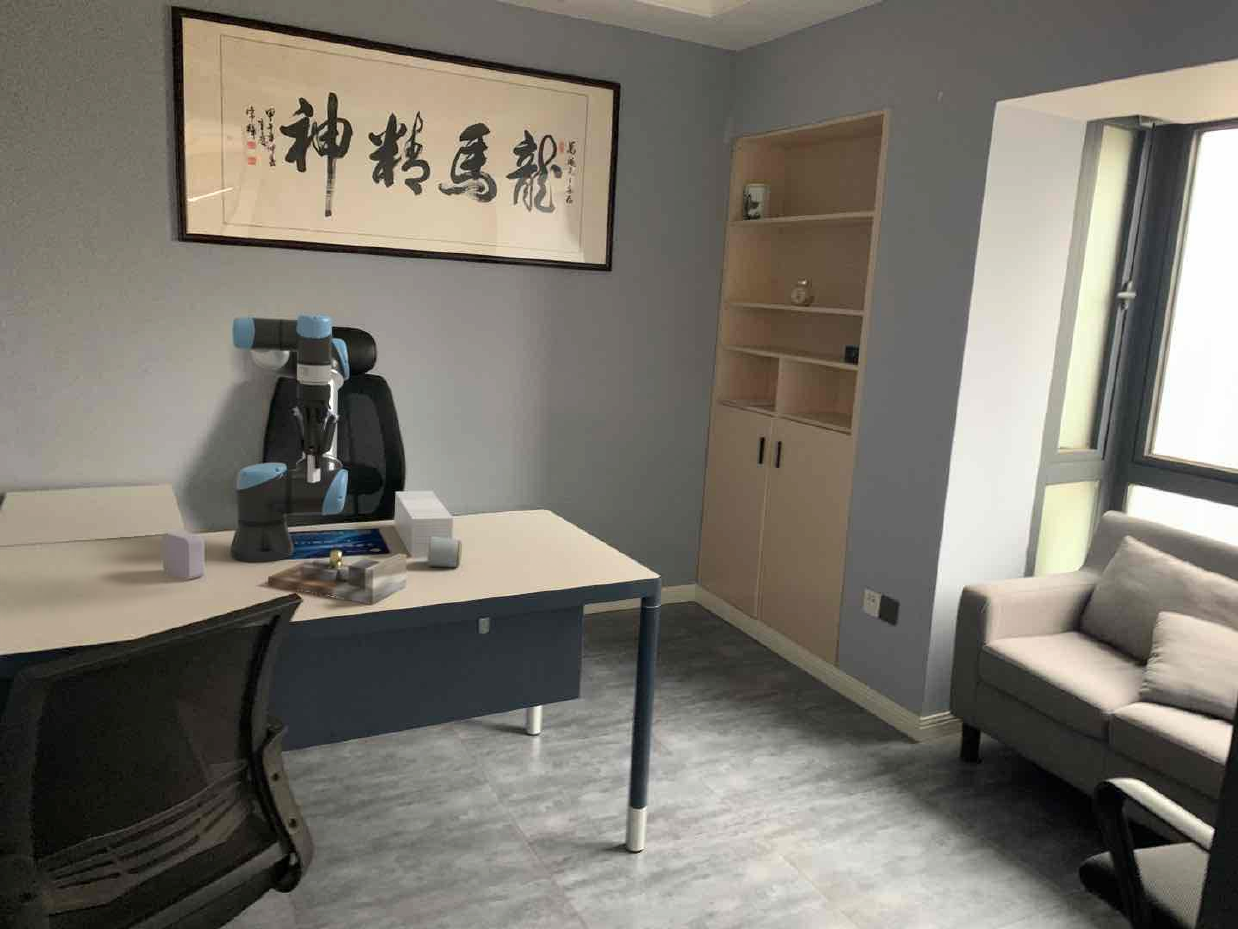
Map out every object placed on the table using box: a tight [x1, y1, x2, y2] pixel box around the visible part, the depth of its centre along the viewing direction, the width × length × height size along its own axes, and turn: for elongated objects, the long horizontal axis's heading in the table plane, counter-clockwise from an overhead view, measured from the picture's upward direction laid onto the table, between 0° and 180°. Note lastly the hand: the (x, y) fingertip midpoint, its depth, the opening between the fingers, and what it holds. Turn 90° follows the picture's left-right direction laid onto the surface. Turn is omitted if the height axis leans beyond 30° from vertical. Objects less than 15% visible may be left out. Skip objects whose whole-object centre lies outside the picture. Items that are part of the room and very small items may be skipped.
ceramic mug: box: [427, 536, 463, 568], centre depth 236 cm, size 11×8×8 cm
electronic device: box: [161, 529, 206, 581], centre depth 215 cm, size 10×5×10 cm, turn 59°
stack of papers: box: [394, 490, 454, 559], centre depth 256 cm, size 32×11×11 cm, turn 21°
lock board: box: [267, 553, 407, 605], centre depth 214 cm, size 28×14×8 cm, turn 72°
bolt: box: [328, 549, 349, 580], centre depth 213 cm, size 12×3×6 cm, turn 72°
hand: (313, 481), depth 216 cm, fingers closed
